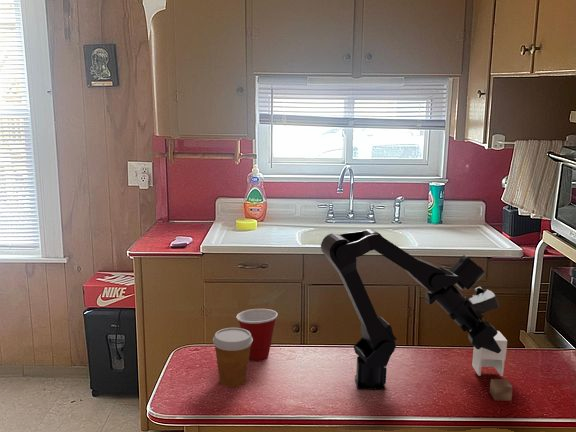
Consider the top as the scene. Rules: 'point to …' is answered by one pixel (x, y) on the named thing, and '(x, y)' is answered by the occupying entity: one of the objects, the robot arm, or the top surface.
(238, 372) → the disposable coffee cup
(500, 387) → the walnut block
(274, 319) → the plastic cup
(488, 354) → the white notched block
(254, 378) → the top surface
